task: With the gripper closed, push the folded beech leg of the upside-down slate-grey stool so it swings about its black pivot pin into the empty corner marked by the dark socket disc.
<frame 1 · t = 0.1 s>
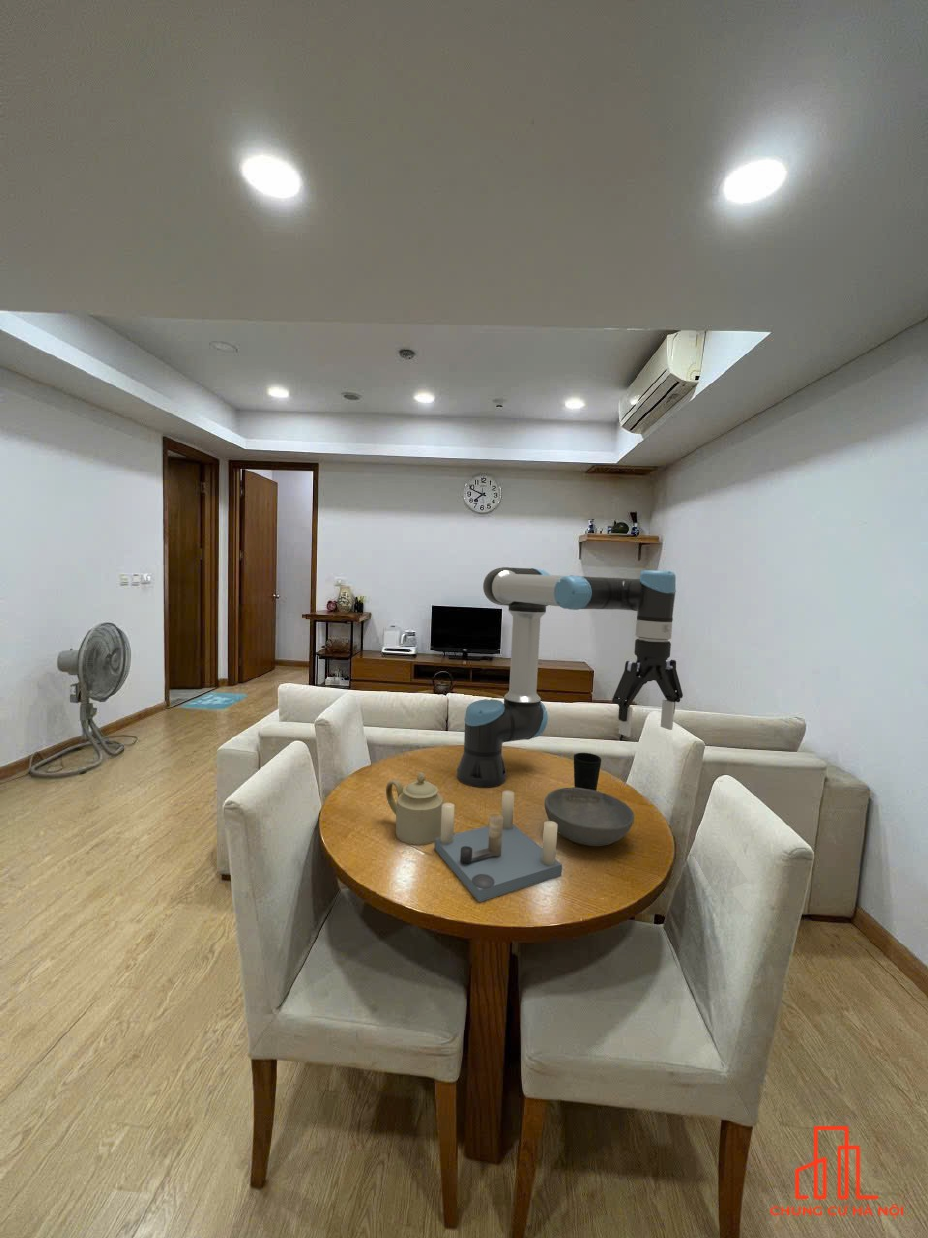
hand: (645, 731, 112), 28 cm above the table, fingers open, 13 cm apart
cup: (584, 799, 140), on the table
teapot: (410, 833, 118), on the table
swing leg: (481, 838, 103), point 7 cm above the table, hinge at 90.0°
stool seat: (495, 862, 107), on the table
bowl: (586, 837, 119), on the table
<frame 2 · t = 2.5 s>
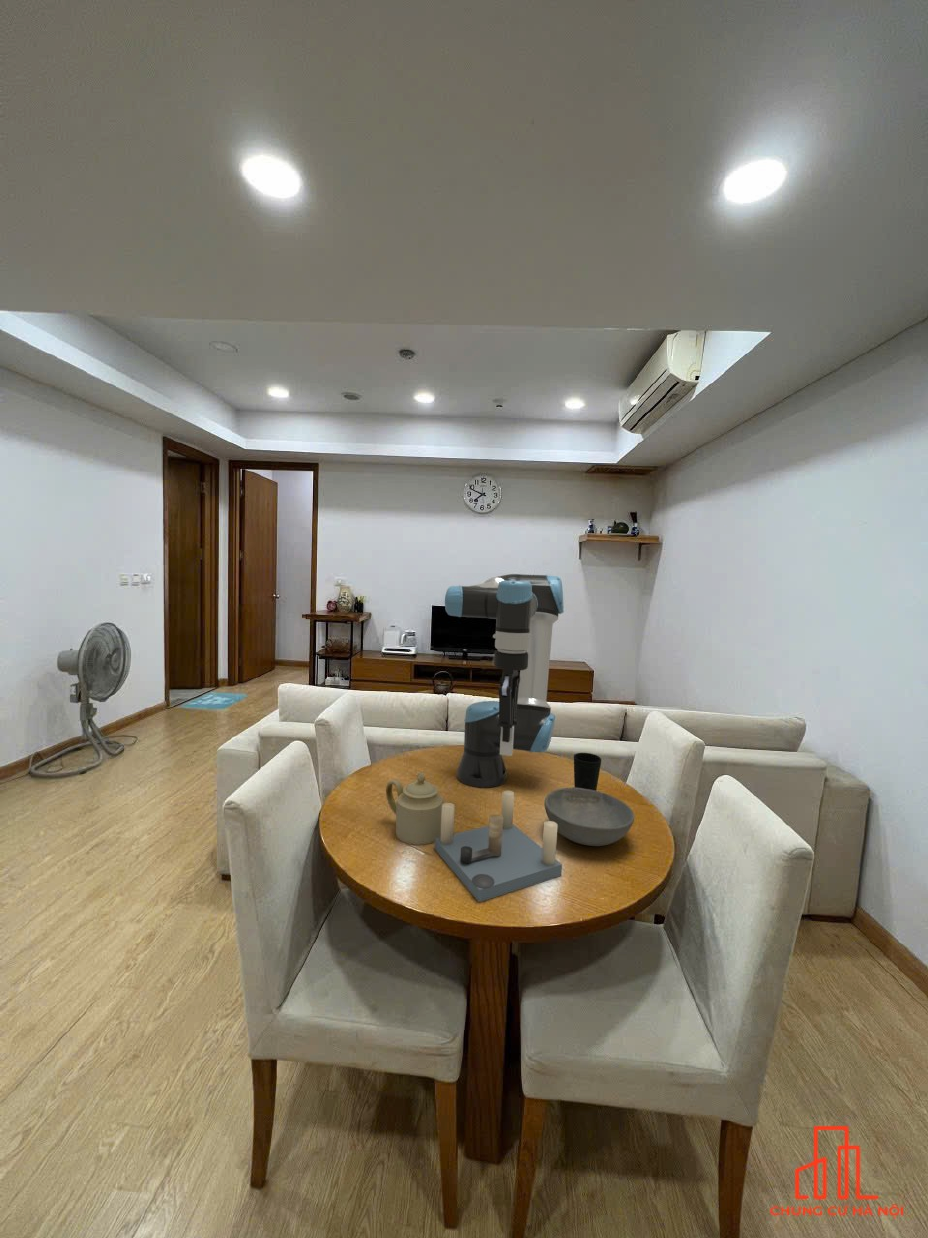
hand: (506, 754, 111), 22 cm above the table, fingers closed
nothing on the table moved.
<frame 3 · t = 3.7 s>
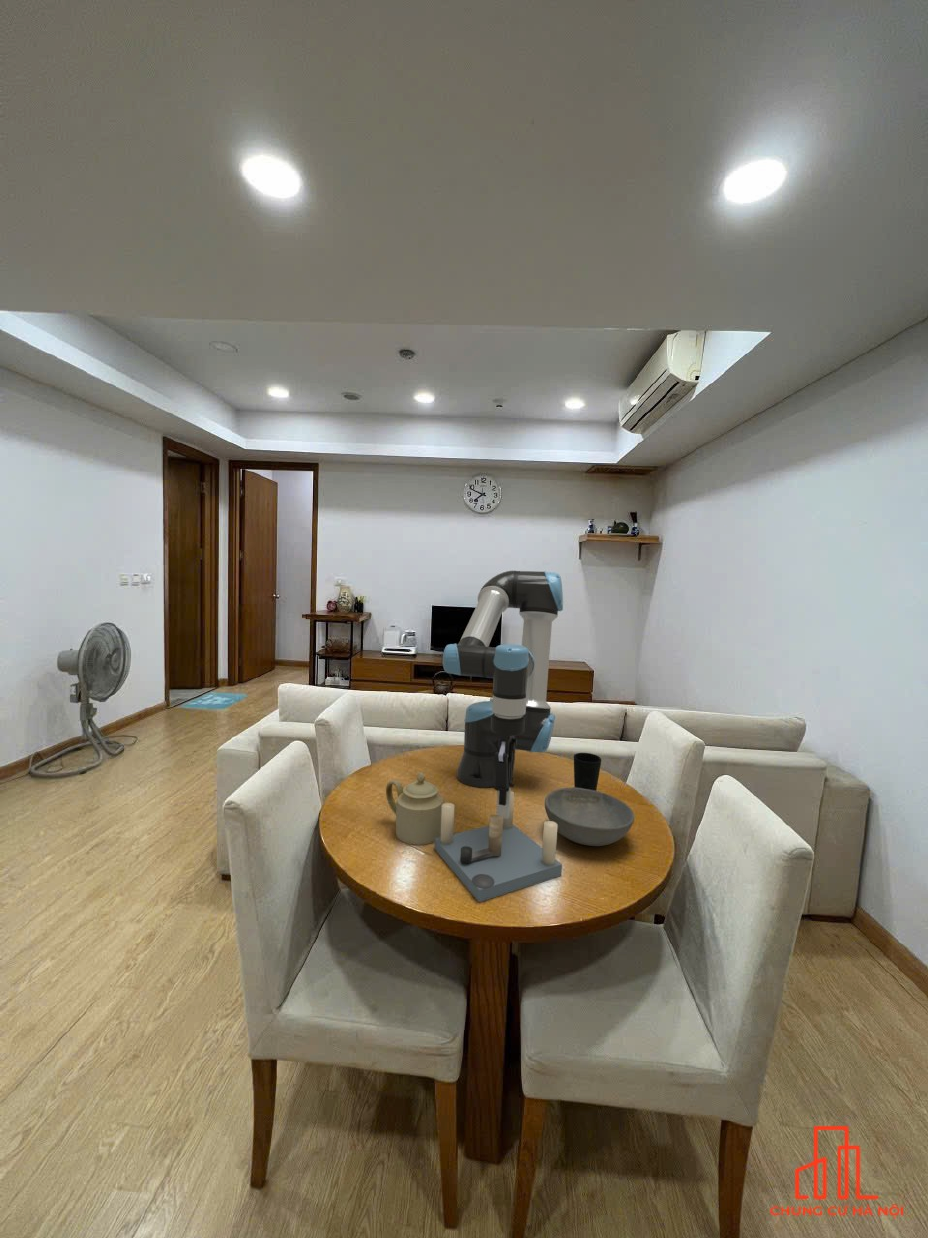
hand: (502, 816, 112), 8 cm above the table, fingers closed
nothing on the table moved.
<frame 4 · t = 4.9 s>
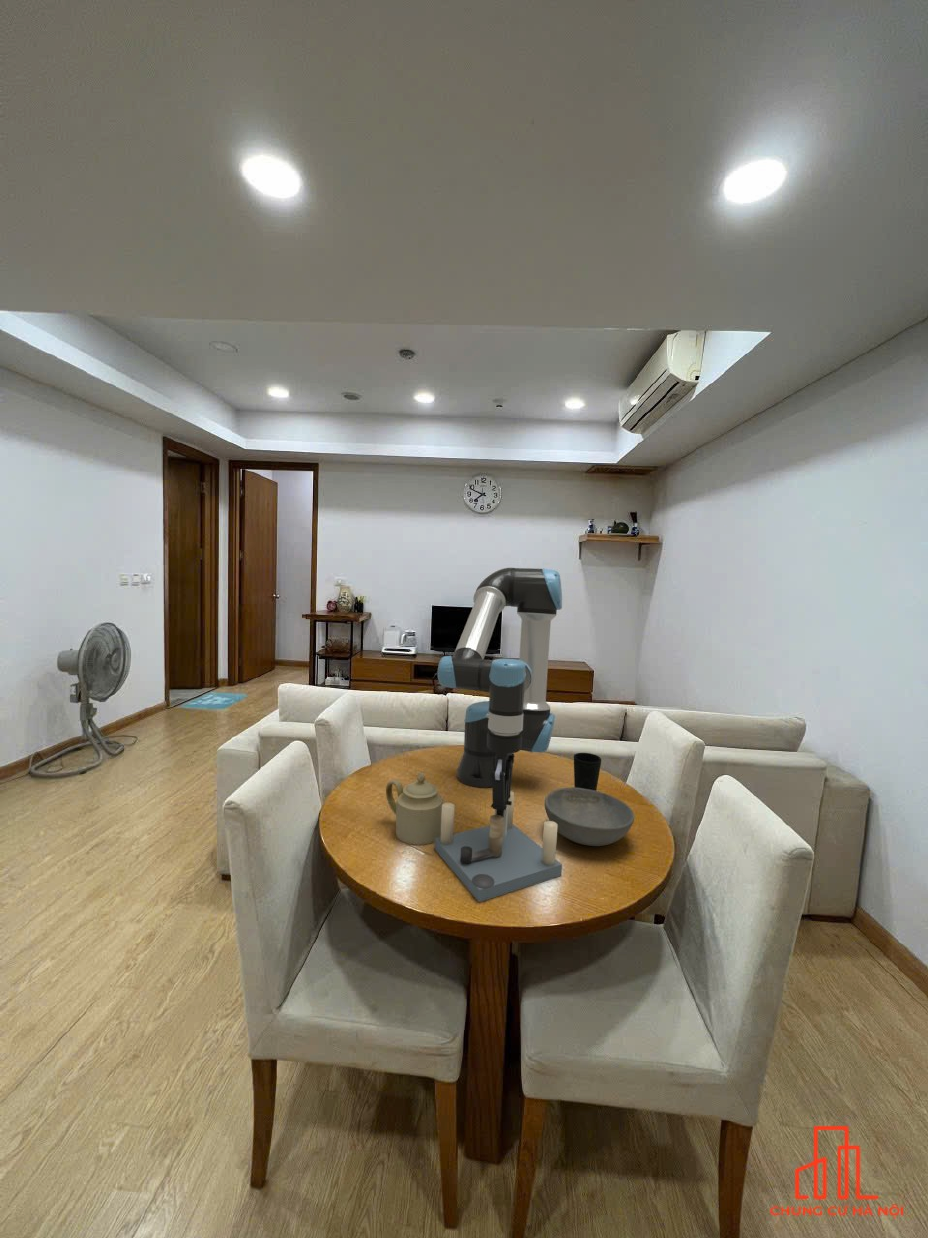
hand: (500, 834, 109), 5 cm above the table, fingers closed
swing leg: (482, 839, 103), point 7 cm above the table, hinge at 88.4°, touching gripper
everything else where it was.
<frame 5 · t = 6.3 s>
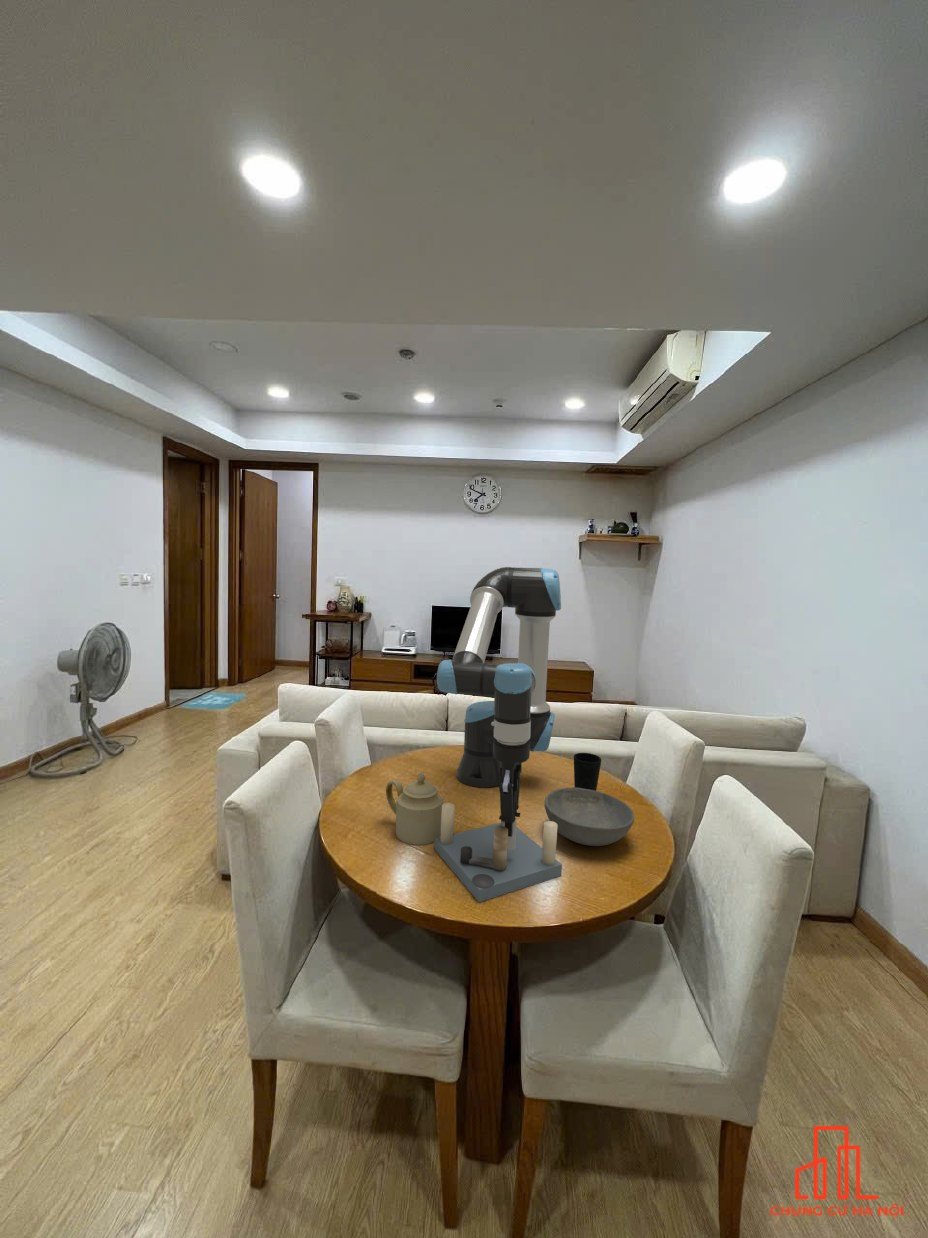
hand: (509, 847, 104), 5 cm above the table, fingers closed
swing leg: (483, 845, 101), point 7 cm above the table, hinge at 48.5°, touching gripper
everything else where it was.
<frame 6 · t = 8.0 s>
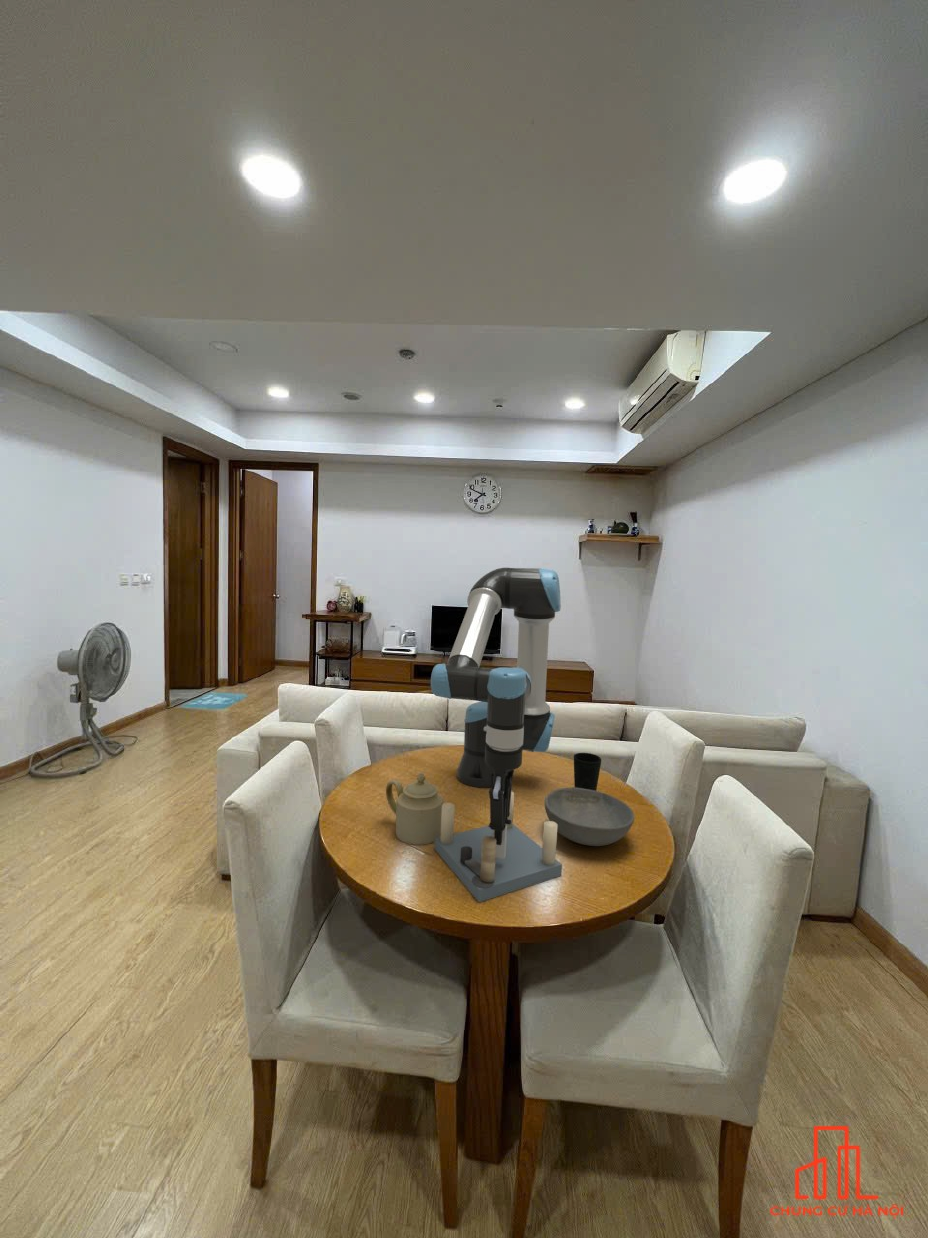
hand: (498, 856, 102), 4 cm above the table, fingers closed
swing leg: (477, 850, 99), point 7 cm above the table, hinge at 8.1°
everything else where it was.
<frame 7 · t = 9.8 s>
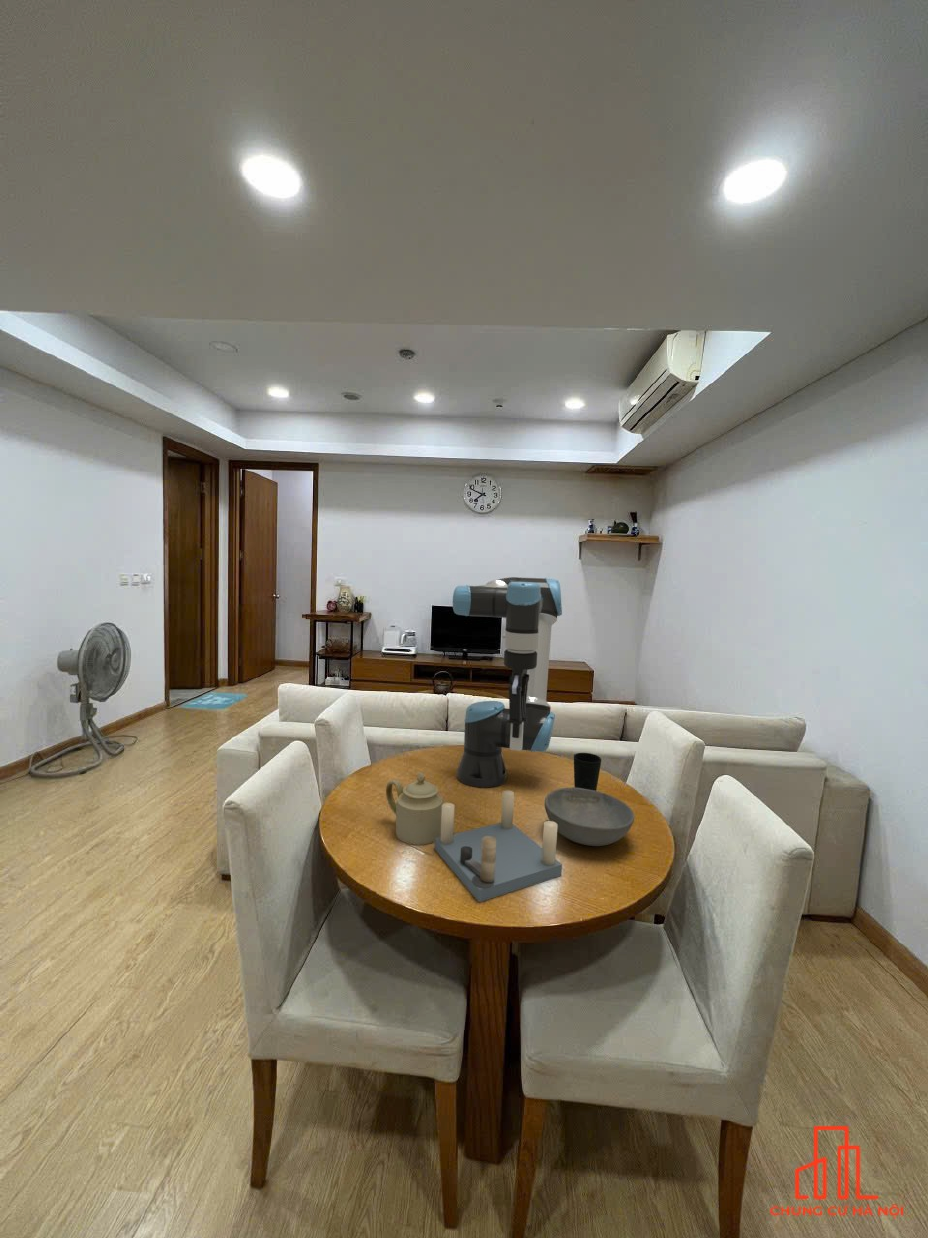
hand: (515, 749, 115), 22 cm above the table, fingers closed
nothing on the table moved.
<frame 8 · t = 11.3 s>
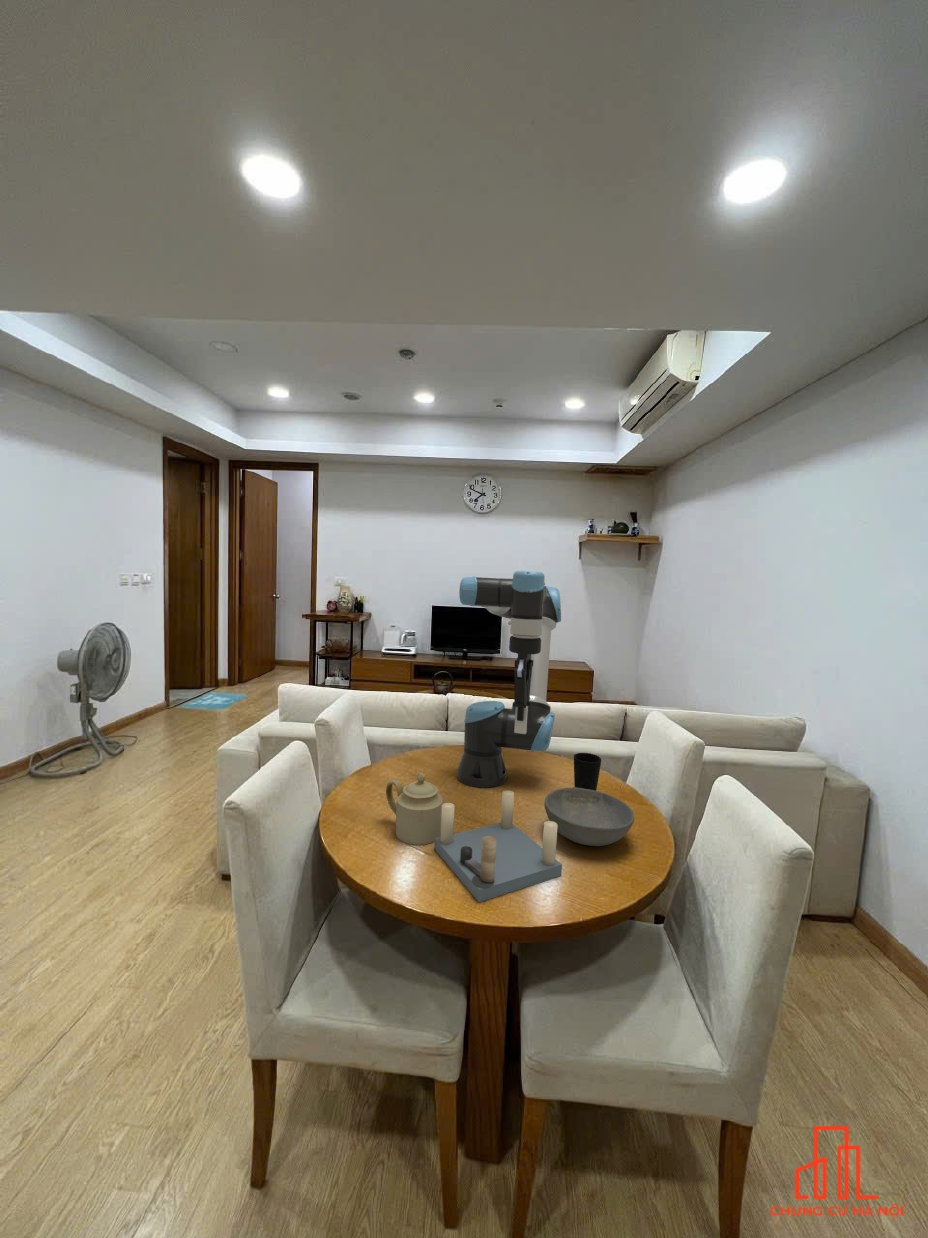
hand: (520, 732, 119), 24 cm above the table, fingers closed
nothing on the table moved.
at the end: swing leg at +8° (first picture: +90°) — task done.
